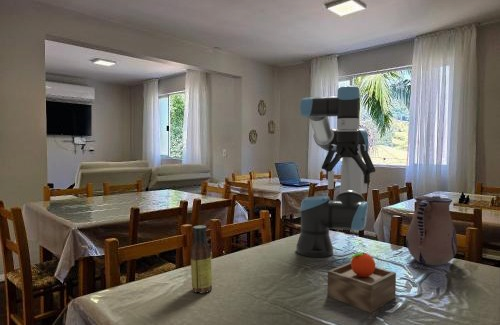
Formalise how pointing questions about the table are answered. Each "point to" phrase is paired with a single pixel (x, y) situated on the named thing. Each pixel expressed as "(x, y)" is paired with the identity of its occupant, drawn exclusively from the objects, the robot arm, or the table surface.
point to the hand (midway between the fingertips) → (346, 190)
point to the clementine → (362, 264)
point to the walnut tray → (361, 287)
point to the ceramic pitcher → (432, 231)
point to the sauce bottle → (201, 261)
